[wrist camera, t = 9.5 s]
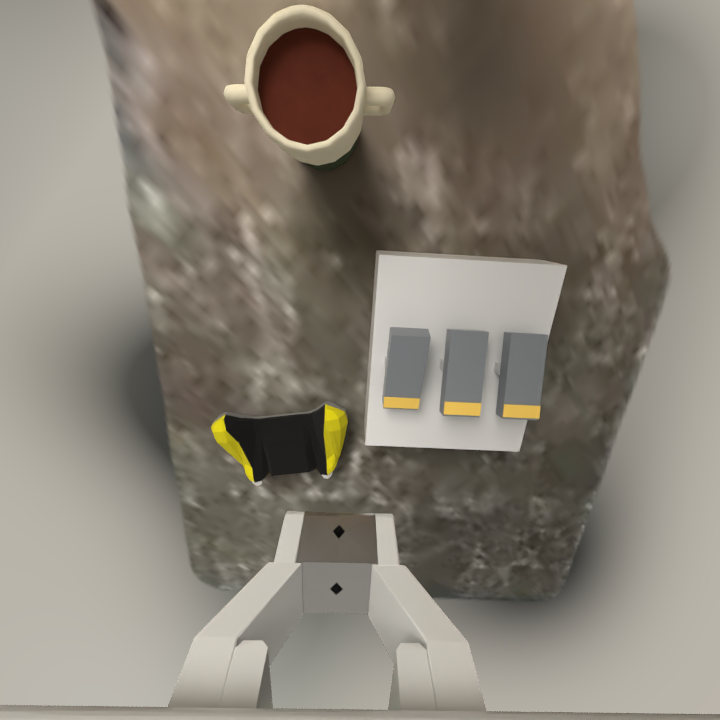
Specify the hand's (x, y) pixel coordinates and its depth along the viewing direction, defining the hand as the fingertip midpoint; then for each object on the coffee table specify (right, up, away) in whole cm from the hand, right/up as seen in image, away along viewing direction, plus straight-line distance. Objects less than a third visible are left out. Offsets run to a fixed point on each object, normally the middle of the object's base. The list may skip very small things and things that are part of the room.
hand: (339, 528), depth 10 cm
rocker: (+10, +4, +24) cm, 26 cm away
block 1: (+5, +4, +23) cm, 24 cm away
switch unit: (+10, +6, +30) cm, 33 cm away
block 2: (+16, +3, +24) cm, 29 cm away
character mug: (-3, +26, +23) cm, 34 cm away
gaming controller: (-8, -4, +34) cm, 35 cm away
